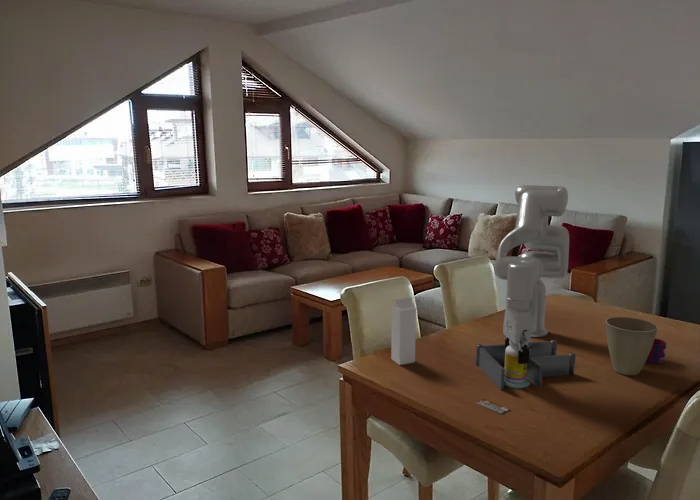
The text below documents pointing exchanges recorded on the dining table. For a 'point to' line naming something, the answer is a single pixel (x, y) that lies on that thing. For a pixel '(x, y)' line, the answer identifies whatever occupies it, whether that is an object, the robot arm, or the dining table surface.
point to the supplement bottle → (514, 364)
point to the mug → (657, 352)
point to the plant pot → (629, 343)
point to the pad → (517, 384)
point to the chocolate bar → (493, 407)
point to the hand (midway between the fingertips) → (516, 357)
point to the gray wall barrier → (539, 364)
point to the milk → (403, 331)
